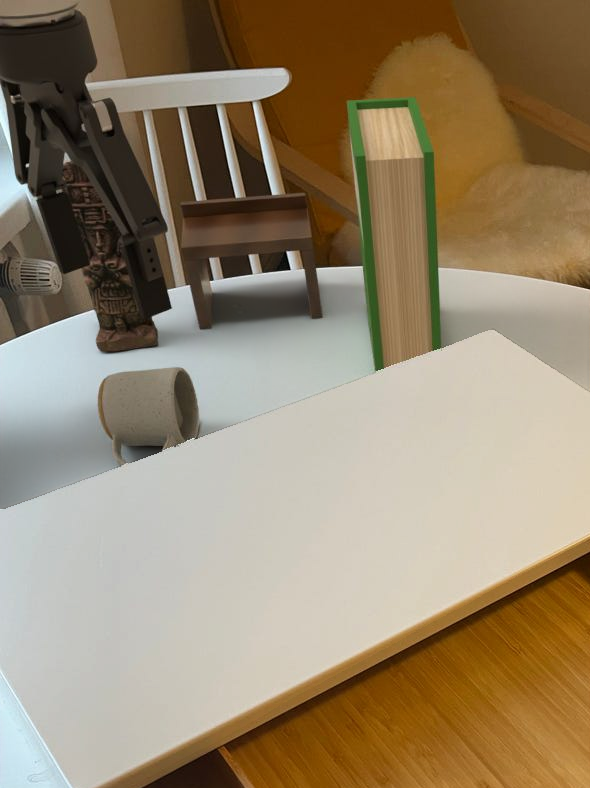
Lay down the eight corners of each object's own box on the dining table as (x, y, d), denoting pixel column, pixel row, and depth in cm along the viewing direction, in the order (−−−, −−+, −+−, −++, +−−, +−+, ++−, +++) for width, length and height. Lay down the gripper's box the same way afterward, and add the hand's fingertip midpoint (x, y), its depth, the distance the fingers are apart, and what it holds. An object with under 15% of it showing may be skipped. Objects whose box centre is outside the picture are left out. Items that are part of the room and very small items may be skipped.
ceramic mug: (127, 420, 100) (106, 354, 95) (204, 419, 100) (187, 353, 95) (100, 479, 93) (76, 412, 87) (183, 478, 93) (163, 411, 87)
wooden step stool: (199, 329, 115) (177, 234, 107) (201, 293, 122) (180, 201, 114) (322, 317, 117) (310, 223, 109) (317, 283, 124) (305, 192, 116)
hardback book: (442, 380, 106) (433, 151, 89) (377, 385, 105) (355, 156, 88) (426, 309, 118) (415, 97, 101) (367, 313, 117) (346, 100, 100)
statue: (98, 354, 110) (41, 175, 96) (100, 327, 115) (46, 152, 101) (158, 347, 112) (110, 169, 98) (157, 320, 117) (112, 147, 102)
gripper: (169, 30, 66) (230, 317, 81) (-2, -18, 78) (79, 240, 93) (72, 52, 62) (155, 349, 77) (-91, -2, 74) (8, 264, 89)
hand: (114, 290), depth 85 cm, fingers open, 13 cm apart
